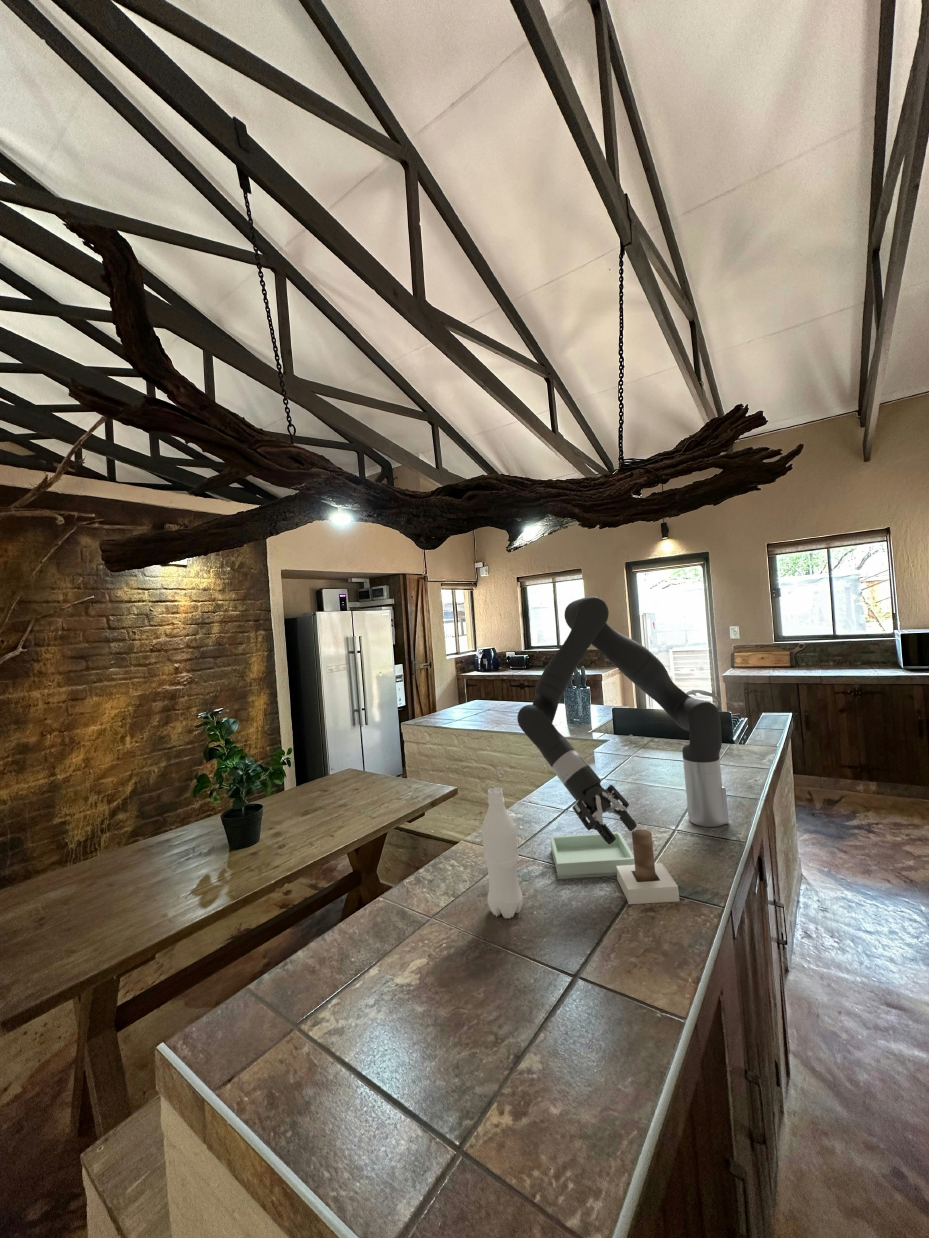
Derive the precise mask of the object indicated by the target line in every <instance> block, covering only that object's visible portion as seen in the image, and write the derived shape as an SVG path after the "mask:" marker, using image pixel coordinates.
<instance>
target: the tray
mask: <svg viewBox="0 0 929 1238" xmlns="http://www.w3.org/2000/svg"><path fill="white" fill-rule="evenodd" d="M612 833H613V835H614V836H615V837H616V840H615V841H614V842H613V843H612V844H608V843H607V842H606V841H605V840H604V839H603V838H602V836H601V835H600V834H599V832H597V833H587V834H570V835H557V836H549V840H550V849H551V855H552V858H553V863H554V867H555V870H556V874H557V878H558V880H569V879H582V878H586V879H587V878H598V877H599V878H600V877H614V876H616V877H617V870H616V866H623V865H635V862H634V853H633V852H632V850H631V848H630V846H629V845H628V844H627V842H626V840H625V839H624V837H623V835H622V834H621V833H620V832H619V831H618V832H617V831H616V832H613V831H612Z"/></svg>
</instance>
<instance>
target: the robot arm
mask: <svg viewBox="0 0 929 1238" xmlns="http://www.w3.org/2000/svg"><path fill="white" fill-rule="evenodd" d="M609 614H610V613H609V608H608V605H607V603H606V601H604V600H603V599H602V598H600V597H598V596H585V597H583V598H580V599H576V600H573V601H571V602H570V603H569V604H568V605H567V606H566V607H565V610H564V620H565V623H566V625H567V627H569V629H570V631H569V634H568V635H567V637H566V639H565V641H564V642H563V644H562V645H561V646H560V647H559V648H558V650H557V651H556V653H554V655H553V656H552V657H551V659H550V661H549V662H548V663H547V665H546V666H545V668H544V670H543V672H542V674H541V675H540V678H539V679H538V681H537V683H536V686H535V689H534V700H533V702H532V704H526V705H524V706H522V707H521V708H520V709H519V711H518V713H517V717H516V718H517V723H518V726H519V728H520V729H521V731H522V732H523V733H524V734H525V735H526V736H527V737H528V739H529V740H530V741H531V743H533V745H534V746H535V747H536V748H537V749H538V750H539V752H540V753H541V755H542V756H543V758H544V759H545V761H546V762H547V764H549V765H550V767H551V769H552V770H553V771H554V773H555V775H556V777H557V778H558V779H559V781H560V782H561V784H562V785H564V787H565V788H566V790H567V791H568V792H569V794H570V795H571V796H572V797H573V799H574V800H575V801H576V803H575V804H573V806H572V810H573V811H574V813H575V814H576V816H577V817H578V819H580V821H581V823H582V825H583V826H584V827H585V829H586V830H587V831H591V830H594V831H597V833H599V834H600V835H601V836H602V838H603V839H604V840H605V841H606V842H607V843H608V844H612V843H613V842H614V841H615V840H616V837H615V836H614V835H613V831H611V829H610V828H609V827H608V825H607V824H606V823H604V819H603V814H604V813H609V814H614V815H616V816H617V817H619V820H620V821H621V822H622V824H623V825H625V827H626V828H627V830H628V831H630V832H632V831H634V830H636V828H637V827H638V825H637V823H636V821H635V820H634V818H633V817H632V816H631V815H630V813H628V811H627V810H628V807H629V806H630V803H629V802H628V800H626V799H625V797H624V796H623V795H622V794H621V793H620V792H619V790H617V788H616V787H615V786H614V785H613V784H609V786H607V787H606V788H604V787H603V786H602V784H601V783H602V781H601V778H600V777H599V776H598V775H597V773H596V772H595V771H594V769H593V768H592V767H591V766H590V764H589V763H588V762H587V761H586V760H585V759H584V757H583V756H582V755H581V754H580V753H578V752H577V750H576V749H575V748H574V746H573V745H572V744H571V743H570V741H568V739H567V738H566V737H565V736H564V735H563V734H562V733H560V732H559V730H558V729H557V728H556V726H555V725H554V720H555V717H556V714H557V710H558V706H559V703H560V701H561V699H562V697H563V695H564V694H565V691H566V689H567V687H568V685H569V683H570V681H571V679H572V677H573V675H574V673H575V671H576V669H577V667H578V666H579V664H580V662H581V661H582V659H583V658H584V656H585V654H586V653H587V652H588V650H589V648H590V646H591V645H592V646H593V647H594V648H595V649H597V650H598V651H599V653H601V654H602V655H603V656H604V657H605V658H606V659H607V660H608V661H609V662H611V664H612V665H613V666H614V667H616V668H617V669H618V670H619V671H620V672H621V673H622V674H623V675H624V676H626V678H628V680H629V681H631V682H632V683H633V684H634V685H635V686H636V687H638V688H639V689H640V690H641V691H643V693H645V694H646V695H647V696H648V697H650V698H651V699H653V700H654V701H655V702H656V703H657V704H658V705H659V706H660V707H661V708H662V709H663V710H664V712H665V713H666V714H667V715H668V716H669V718H671V720H672V721H673V722H674V723H675V724H676V725H677V726H678V727H680V728H681V729H682V730H684V731H687V732H688V733H689V736H688V737H689V744H686V745H683V747H682V749H681V753H682V762H683V773H684V783H685V784H684V785H685V794H686V795H685V796H686V805H687V815H688V821H689V822H691V823H692V824H693V825H696V826H700V827H705V828H707V827H709V828H714V827H715V828H716V827H721V826H724V825H727V824H730V821H729V820H730V818H729V810H728V799H727V790H726V789H727V788H726V786H723V780H722V779H723V778H722V768H721V758H720V752H721V749H722V746H723V744H722V743H723V742H722V740H723V739H722V722H721V715H720V711H719V709H718V708H717V706H716V705H715V704H714V703H712V702H710V701H708V700H703V699H698V698H694V697H692V696H690V695H688V694H687V693H686V692H684V691H683V690H682V689H681V688H679V687H678V685H676V684H675V683H674V681H673V679H671V677H670V675H669V672H668V670H667V669H666V666H665V665H664V663H663V662H662V661H661V660H660V659H658V657H656V655H655V654H653V653H652V652H651V651H650V650H649V649H648V648H646V647H645V646H643V645H642V644H641V643H639V642H637V641H635V640H634V639H632V638H630V637H628V636H626V635H624V634H622V633H620V632H618V631H617V630H616V629H614V628H613V627H611V626H610V625H609V624H608V619H609ZM619 801H620V802H619Z"/></svg>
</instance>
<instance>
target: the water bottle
mask: <svg viewBox="0 0 929 1238" xmlns="http://www.w3.org/2000/svg"><path fill="white" fill-rule="evenodd" d="M487 795H488V796H487V797H488V798H487V804H488V809H487V812H486V814H485V817H484V820H483V822H482V826H481V835H482V846H483V858H484V861H485V864H486V867H487V874H488V883H489V884H488V893H487V903H488V906H489V909H490V912H491V913H492V914H493V915H494V916H495V915H496V916H495V917H497V916H498V915H499V916H500V915H502V917H503V918H504V919H507V918H508V919H512V918H513V917H514V916H515V913H516V914H519V913H520V912H521V909H522V907H523V906H522V905H523V901H524V900H523V899H524V898H523V893H522V890H521V887H520V883H519V880H518V870H517V867H518V866H517V865H518V859H519V856H520V854H519V852H518V843H517V840H518V839H517V827H516V824H515V821H514V820H513V817H512V816H511V815H510V813H509V812H508V810H507V808H506V805H505V800H506V799H504V797H505V796H504V795H503V789H502V788H501V787H492V788H489V789H488V790H487ZM499 916H498V917H499ZM511 917H512V918H511Z"/></svg>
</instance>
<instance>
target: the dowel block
mask: <svg viewBox="0 0 929 1238" xmlns="http://www.w3.org/2000/svg"><path fill="white" fill-rule="evenodd" d="M654 865H655V875H656V881H648V882H637V881H636V873H635V865H623V866H616V870H617V876H616V879H617V882H618V884H619V885H620V887H621V890H622V891H623V894H624V896H625V898H626V901H627V903H628V904H629V905H639V904H657V903H672V902H673V903H674V902H675V903H677V902H680V895H679V893H680V892H679V886H678V884H677V883H676V882H675V880H674V879H673V877H672V876H671V874H670V873H669V871H668V870H667V869H666V867H665V865H664V864H663V863H662V862H658V863H655V862H654Z"/></svg>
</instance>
